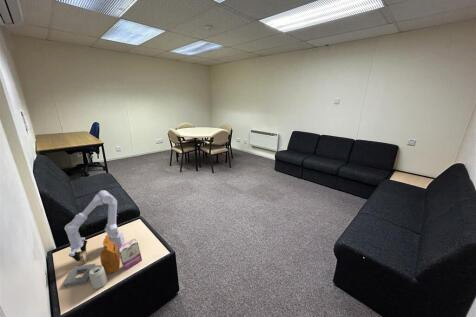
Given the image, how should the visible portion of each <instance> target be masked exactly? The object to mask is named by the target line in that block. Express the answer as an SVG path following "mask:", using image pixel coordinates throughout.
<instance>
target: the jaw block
mask: <svg viewBox="0 0 476 317" xmlns="http://www.w3.org/2000/svg"><path fill="white" fill-rule="evenodd" d="M78 252H80V261H76V263H77V266H81V265H87V262H88V261H89V260H90V259H89V255H88V251H87V250H86V251H81V250H80V251H78Z"/></svg>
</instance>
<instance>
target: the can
mask: <svg viewBox="0 0 476 317" xmlns="http://www.w3.org/2000/svg"><path fill="white" fill-rule="evenodd" d="M95 265H96V264H95ZM89 277H90V279H89V281H90V282H91V286H92V288H93V289H95V290H96V289H101V288H102V287H104V286H105V285H106V284H107V282H108V277H107V274H106V273H105V270H104V267H103V266H102V265H100V264H97V265H96V266H94V267H93V268H91V270H90V271H89Z"/></svg>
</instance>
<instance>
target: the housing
mask: <svg viewBox="0 0 476 317" xmlns="http://www.w3.org/2000/svg"><path fill="white" fill-rule="evenodd" d="M94 266H96V263H91V264H89V263H88V264H81V265H76V266H74V267H73V268H72V270H71V271H70V273H69V274H68V276H67V278H66V279H65V281H64V283H63V286H64V287H65V288H66V287H72V286H73V287H74V286H77V285H85V284H88V283H89V281H90V277H89V271H90V270H91V268H93V267H94ZM79 273H84V274H83V276H78V274H79ZM77 276H78V277H77Z"/></svg>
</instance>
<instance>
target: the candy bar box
mask: <svg viewBox="0 0 476 317" xmlns="http://www.w3.org/2000/svg"><path fill="white" fill-rule="evenodd" d="M117 249H118V252H119V255H120V263H121V265H122V268H123V269H124V271H127V270H128V269H130V268H132V267H133V266H136V265H137V264H139V263H140V262H142V261H143V258H142V255H141V250H140V246H139V243H138V241H137V240H136V238H132V239H131V240H129V241H127V242H126V243H125V242H124V243H123V245H122V246H120V247H118V248H117Z"/></svg>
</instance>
